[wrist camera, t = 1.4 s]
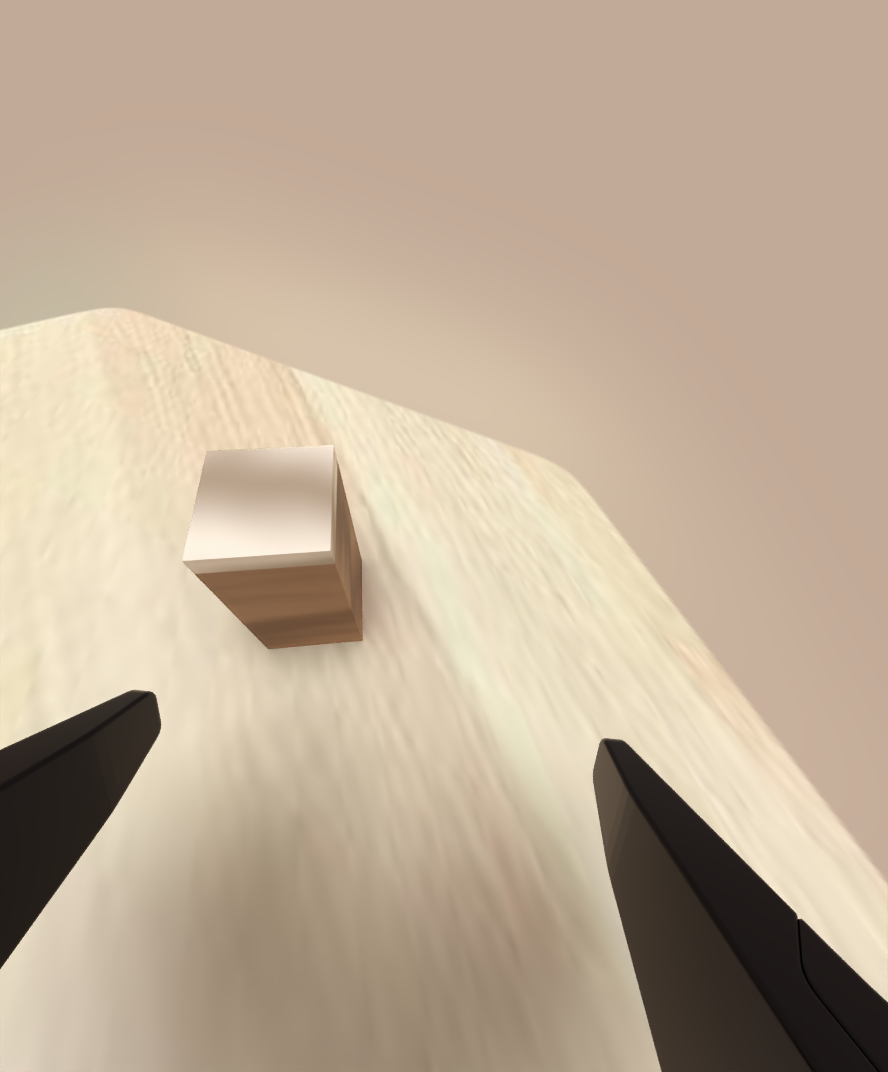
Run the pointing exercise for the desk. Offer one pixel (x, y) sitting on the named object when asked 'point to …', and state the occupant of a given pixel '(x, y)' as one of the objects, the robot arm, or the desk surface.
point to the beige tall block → (279, 544)
